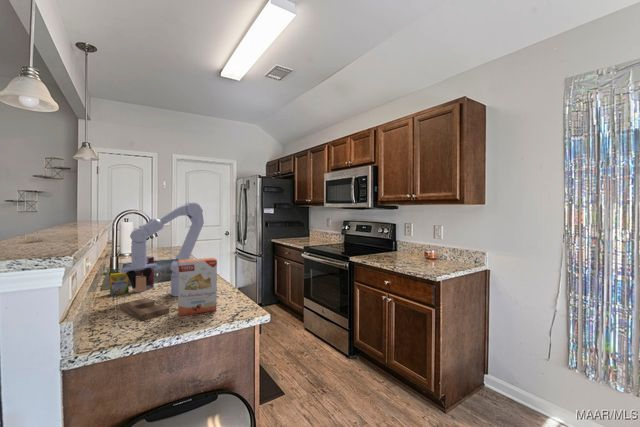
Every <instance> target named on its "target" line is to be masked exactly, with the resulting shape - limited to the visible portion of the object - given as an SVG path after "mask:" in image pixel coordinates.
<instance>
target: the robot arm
mask: <svg viewBox="0 0 640 427" xmlns="http://www.w3.org/2000/svg"><path fill="white" fill-rule="evenodd" d="M203 212H204V211H203V208H202V206H201V205H200V204H199V203H197V202H186V203H185V204H182V205H180V206H178V207H176V208H174V209H172V210H171V211H170V212H168V213H166V214H165V215H164V216H162V217H160V218H150V219H149V220H148V221H147V222H146V223H145V224H143V225H139V226H138V228H135V229H133V230H132V231H131V233H130V235H129V237H130V240H131V242H130V243H131V248H130V249H131V256H130V257H131V266H125V267H122V268H121V267H120V268H119V269H120V270H119V272H120V273H126V274H127V276H128V278H129V282H130V284H131V285H130V286H131V288H132V289H133V288H135V287H136V282H135V280H136V273H135V272H134V271H138V270H142V272H143V276H145V277H146V286H147V282H148V279H149V276H150V274H151V273H152V269H151V268H154V269H158V263H155V262H154V264H147V257H148V256H147V239H148V238H149V237H152V236H153V235H155V234H156V233H158V232H159V231H162V230H163V229H164V225H166V224H168V223H169V222H171V221H173V220H174V219H176V218H178V217H179V216H180V217H181V216H187V217H188V219H189V220H190V222H191V224H190V227H189V229H188V232H187V234H186V236H185V238H184V241H183V243H182V246H181V248H180V250H179V253H178V254H177V255H176V256H175V259H174V260H173V261H172V262H171V263H170V266H169V268H170V270H171V271H172V272H171V273H170V291H168V292H167V295H170V296H173V297H178V260H187V259H191V258H190V257H191V255H192V252H193V250H194V248H195V245H196V243H197V241H198V238H199V235H200V233H201V231H202V229H203V226H204V224H205V221H204V214H203ZM135 269H136V270H135Z"/></svg>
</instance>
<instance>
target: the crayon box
mask: <svg viewBox="0 0 640 427" xmlns="http://www.w3.org/2000/svg"><path fill="white" fill-rule="evenodd" d="M109 272H110V273H109V285H110V286H109V295H110V296H115V295H122V294H129V292H130V291H129V290H130V289H129V282H130V279H129V278H128V276H127V274H126V273H120V268H115V269H114V268H113V269H110V270H109Z"/></svg>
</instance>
